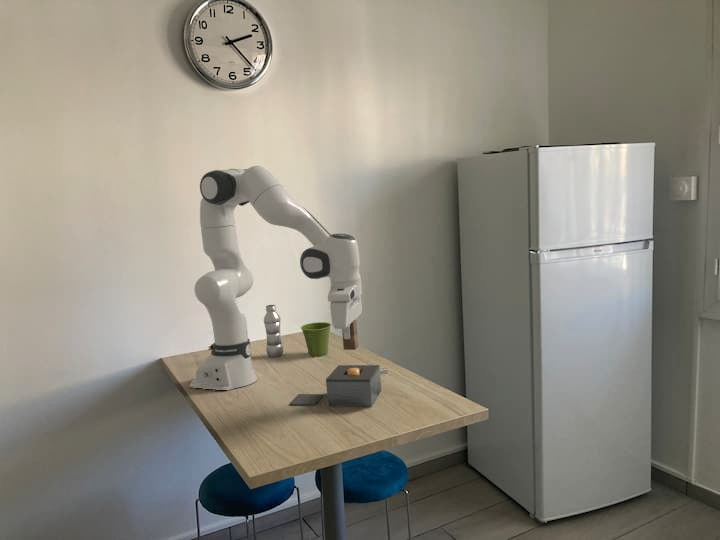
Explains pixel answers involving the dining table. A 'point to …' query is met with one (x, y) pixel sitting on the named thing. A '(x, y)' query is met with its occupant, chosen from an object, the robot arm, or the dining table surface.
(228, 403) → the dining table surface
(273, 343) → the silver metal bottle
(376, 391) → the box
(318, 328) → the plant pot
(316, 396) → the pad
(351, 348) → the wood grain block
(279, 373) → the dining table surface
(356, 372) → the egg
